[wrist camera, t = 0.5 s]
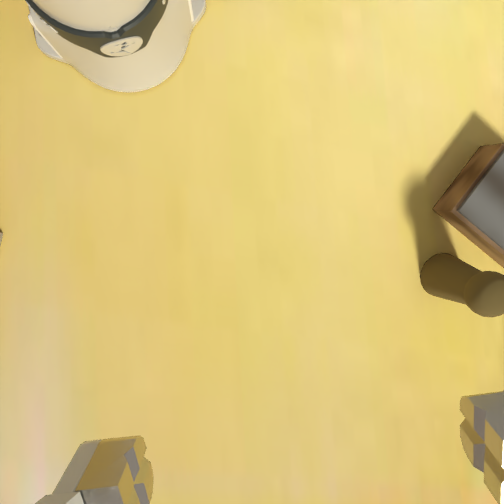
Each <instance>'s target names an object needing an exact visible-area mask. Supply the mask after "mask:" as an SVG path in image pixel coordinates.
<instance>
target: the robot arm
mask: <svg viewBox="0 0 504 504" xmlns="http://www.w3.org/2000/svg"><path fill="white" fill-rule="evenodd" d="M25 1H26V2H27V4H28V6H29V10H30V14H29V15H28V18H29V21H30V22H31V24H32V25H33V27H34V32H35V37H36V42H37V45H38V47H39V49H40V50H41V51H42V52H43V53H44V54H45V55H46V56H48V57H50V58H53V59H55V60H58V61H61V62H64V63H68V64H69V65H71V66H73V67H74V68H75V69H76V70H78V71H79V72H80V73H81V74H82V75H84V76H85V77H86V78H88V79H89V80H90V81H92V82H94V83H95V84H97V85H99V86H102V87H104V88H107V89H110V90H113V91H119V92H138V91H143V90H147V89H150V88H152V87H155V86H157V85H158V84H160V83H162V82H163V81H164V80H166V79H167V78H168V77H169V76H170V75H171V74H172V73H173V72H174V71H175V70H176V69H177V67H178V66H179V64H180V62H181V61H182V59H183V57H184V54H185V52H186V49H187V45H188V41H189V38H190V34H191V31H192V29H193V28H194V26H195V25H196V24H197V23H198V21H199V20H200V19H201V17H202V16H203V14H204V12H205V10H206V0H25ZM460 411H461V412H462V414H463V415H464V417H465V419H464V421H463V422H462V423H461V425H460V437H461V441H462V445H463V448H464V451H465V453H466V455H467V457H468V459H469V460H470V462H471V463H472V465H473V466H474V467H475V468H477V469H479V470H480V471H482V472H484V483H485V485H486V486H487V488H488V489H489V491H490V492H491V494H492V495H493V497H494V498H495V500H496V501H497V503H498V504H504V391H500V392H493V393H485V394H477V395H469V396H462V398H461V400H460ZM145 451H146V445H145V442H144V438H143V437H141V436H130V437H120V438H110V439H103V440H93V441H85V442H83V443H82V444H80V446H79V447H78V449H77V451H76V453H75V454H74V456H73V458H72V460H71V461H70V463H69V465H68V467H67V469H66V470H65V472H64V474H63V476H62V477H61V479H60V481H59V483H58V484H57V486H56V488H55V490H54V491H53V493H52V495H45V496H44V497H43V498H42V499H40V500H39V501H38V502H37V503H35V504H149V503H150V500H151V496H152V492H153V470H152V466H151V462H150V461H149V460H147V459H146V458H145V457H144V454H145Z"/></svg>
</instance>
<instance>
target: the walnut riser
mask: <svg viewBox="0 0 504 504" xmlns="http://www.w3.org/2000/svg"><path fill="white" fill-rule="evenodd" d="M433 210H434V211H435V212H437V213H438V214H439V215H440V216H441V217H443V218H444V219H445V220H446V221H447V222H449V223H450V224H451V225H452V226H454V227H455V228H456V229H457V230H458V231H460V232H461V233H462V234H463V235H464V236H466V237H467V238H468V239H469V240H470V241H472V242H473V243H474V244H475V245H477V246H478V247H479V248H480V249H481V250H483V251H484V252H485V253H486V254H487V255H489V256H490V257H491V258H492V259H493V260H495V261H496V262H497V263H498V264H500V265H501V266H502V267H503V268H504V144H495V145H486V146H480V147H479V149H478V150H477V151H476V153H475V154H474V155H473V157H472V158H471V159H470V161H469V162H468V163H467V164H466V166H465V167H464V168H463V170H462V171H461V172H460V174H459V175H458V176H457V178H456V179H455V180H454V182H453V183H452V184H451V185H450V187H449V188H448V189H447V191H446V192H445V193H444V195H443V196H442V197H441V199H440V200H439V201H438V202H437V204H436V205H435V206H434V208H433Z"/></svg>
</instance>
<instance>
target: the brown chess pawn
mask: <svg viewBox="0 0 504 504" xmlns="http://www.w3.org/2000/svg"><path fill="white" fill-rule="evenodd" d="M420 278H421V284H422V286H423V288H424V290H425V291H426V292H427V293H429V294H431V295H433V296H436V297H440V298H444V299H448V300H451V301H455V302H459V303H462V304H466V305H467V306H468V307H469V308H470V309H471V310H472V311H473V312H475V313H477V314H479V315H481V316H484V317H496V316H500V315H502V314H504V275H502V274H500V273H498V272H492V271H484V272H482V271H480V270H478V269H476V268H474V267H473V266H471V265H469V264H467V263H465V262H463V261H462V260H460V259H458V258H456V257H454V256H452V255H450V254H445V253H441V254H437V255H434V256H433V257H431V258H430V259H429V260H428V261H427V262H426V263H425V264H424V266H423V268H422V270H421V275H420Z"/></svg>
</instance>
